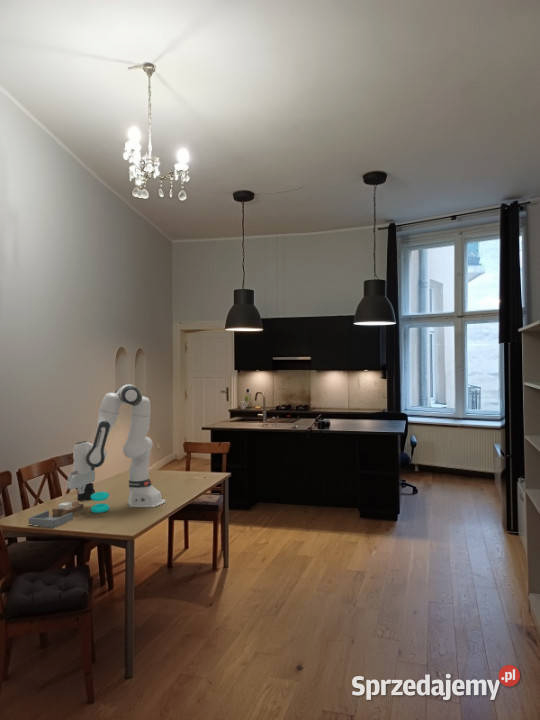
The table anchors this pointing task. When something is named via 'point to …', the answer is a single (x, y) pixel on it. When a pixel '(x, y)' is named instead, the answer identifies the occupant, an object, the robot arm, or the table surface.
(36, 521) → the tray
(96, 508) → the donuts
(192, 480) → the table surface
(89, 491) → the mug
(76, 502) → the tile rear
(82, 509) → the bench
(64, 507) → the tile front
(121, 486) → the table surface
